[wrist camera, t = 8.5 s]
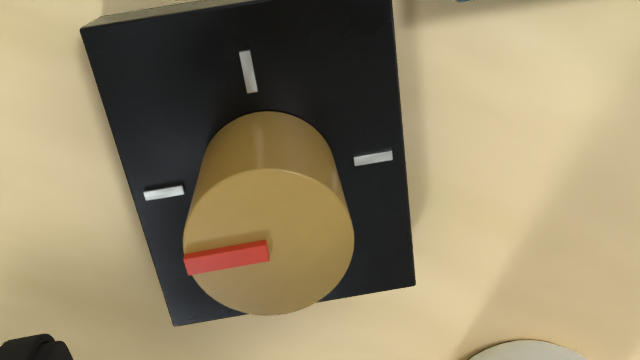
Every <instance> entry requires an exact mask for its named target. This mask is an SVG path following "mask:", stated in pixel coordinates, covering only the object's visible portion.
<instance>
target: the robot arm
mask: <svg viewBox="0 0 640 360" xmlns="http://www.w3.org/2000/svg"><path fill="white" fill-rule="evenodd" d="M0 360H73V358H72V356H71V354H70V352H69V349H68V347H67V346H66V344H65V343H64V342H63V341H55V340H54V339H53V337H52V336H50V335H49V334H39V335H34V336H29V337H23V338H18V339H12V340H8V341H6V342H4V343H3V345H2V346H1V347H0Z"/></svg>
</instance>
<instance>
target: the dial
mask: <svg viewBox="0 0 640 360" xmlns="http://www.w3.org/2000/svg"><path fill="white" fill-rule="evenodd" d="M353 250H354V230H353V226H352V221H351V218H350V214H349V211H348V207H347V204H346V200H345V197H344V193H343V190H342V186H341V183H340V179H339V176H338V172H337V168H336V165H335V161H334V158H333V155H332V152H331V150H330V147H329V146H328V144H327V142H326V141H325V139H324V138H323V137H322V135H321V134H320V133H319V132H318V131H317V130H316V129H315V128H314V127H312V126H311V125H310V124H308V123H307V122H305V121H303V120H302V119H300V118H297V117H295V116H293V115H289V114H285V113H281V112H270V111H264V112H255V113H251V114H247V115H244V116H242V117H239V118H237V119H235V120H233V121H231V122H230V123H228V124H227V125H226V126H224V127H223V128H222V129H221V130H220V131H219V132H218V133H217V134H216V135H215V136H214V137H213V139H212V140H211V141H210V143H209V145H208V147H207V149H206V151H205V154H204V156H203V160H202V164H201V168H200V171H199V175H198V179H197V183H196V186H195V190H194V194H193V198H192V201H191V205H190V209H189V213H188V216H187V220H186V224H185V228H184V233H183V252H184V259H183V260H184V263H185V267H186V270H187V273H188V275H192V276H193V278H194V279H195V281H196V282H197V283H198V285H199V286H200V287H201V288H202V289H203V290H204V291H205V292H206V293H207V294H208V295H209V296H211V297H212V298H213V299H215V300H216V301H218V302H219V303H221V304H223V305H225V306H227V307H229V308H231V309H234V310H237V311H240V312H243V313H248V314H254V315H280V314H287V313H291V312H295V311H298V310H301V309H304V308H306V307H308V306H310V305H312V304H314V303H316V302H317V301H319V300H321V299H322V298H323V297H325V296H326V295H327V294H328V293H330V292H331V291H332V290H333V289H334V288H335V287H336V286H337V284H338V283H339V282H340V280H341V279H342V278H343V276H344V274H345V272H346V271H347V269H348V267H349V264H350V262H351V259H352V254H353Z"/></svg>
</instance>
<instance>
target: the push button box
mask: <svg viewBox="0 0 640 360" xmlns="http://www.w3.org/2000/svg"><path fill="white" fill-rule="evenodd" d="M454 1H457V2H459V3H460V2H467V1H473V0H454Z"/></svg>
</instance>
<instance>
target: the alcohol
mask: <svg viewBox="0 0 640 360" xmlns="http://www.w3.org/2000/svg"><path fill="white" fill-rule="evenodd" d="M469 360H588V359H587V358H585V357H584V356H582V355H580V354H579V353H577V352H575V351H573V350H571V349H567V348H564V347H561V346H558V345H555V344H551V343H548V342H545V341H536V340H519V341H512V342H507V343H502V344H499V345H497V346H494V347H491V348H488V349H486V350H484V351H482V352H480V353H479V354H477V355H475V356H473V357H472V358H470V359H469Z"/></svg>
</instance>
